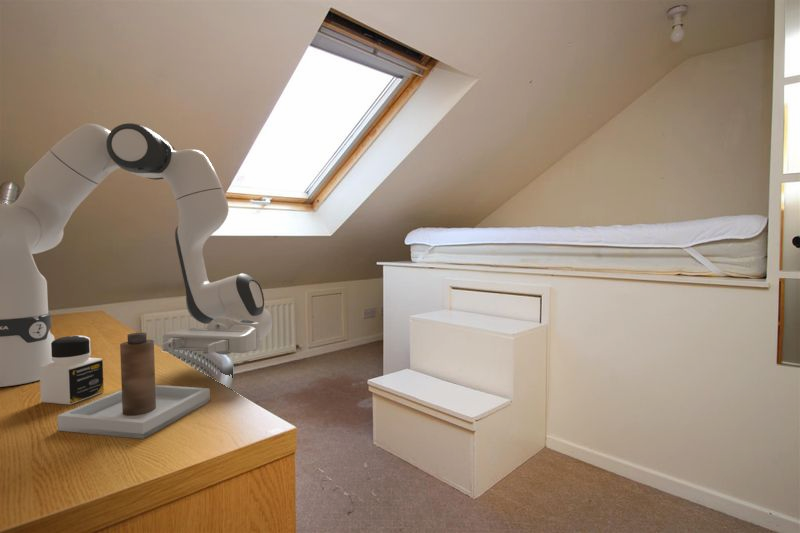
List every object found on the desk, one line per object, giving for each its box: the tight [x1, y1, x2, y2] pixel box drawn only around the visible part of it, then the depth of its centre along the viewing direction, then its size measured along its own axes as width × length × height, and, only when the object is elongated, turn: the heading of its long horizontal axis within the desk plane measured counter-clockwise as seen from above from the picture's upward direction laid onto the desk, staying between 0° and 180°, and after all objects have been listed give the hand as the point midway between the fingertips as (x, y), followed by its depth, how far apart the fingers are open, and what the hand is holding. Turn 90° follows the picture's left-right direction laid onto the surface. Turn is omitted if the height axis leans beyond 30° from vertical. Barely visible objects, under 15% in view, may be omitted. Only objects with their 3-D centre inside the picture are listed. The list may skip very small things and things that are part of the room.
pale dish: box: [57, 384, 211, 440], centre depth 74 cm, size 16×16×2 cm
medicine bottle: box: [39, 335, 105, 406], centre depth 82 cm, size 7×7×12 cm
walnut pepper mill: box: [119, 332, 156, 416], centre depth 74 cm, size 5×5×14 cm
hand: (185, 348), depth 85 cm, fingers open, 8 cm apart
